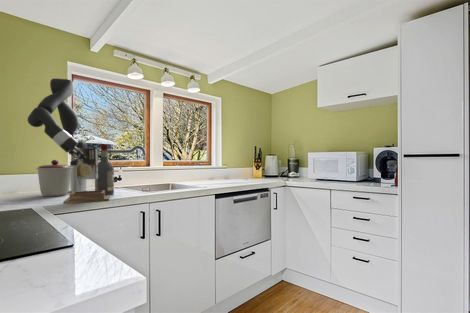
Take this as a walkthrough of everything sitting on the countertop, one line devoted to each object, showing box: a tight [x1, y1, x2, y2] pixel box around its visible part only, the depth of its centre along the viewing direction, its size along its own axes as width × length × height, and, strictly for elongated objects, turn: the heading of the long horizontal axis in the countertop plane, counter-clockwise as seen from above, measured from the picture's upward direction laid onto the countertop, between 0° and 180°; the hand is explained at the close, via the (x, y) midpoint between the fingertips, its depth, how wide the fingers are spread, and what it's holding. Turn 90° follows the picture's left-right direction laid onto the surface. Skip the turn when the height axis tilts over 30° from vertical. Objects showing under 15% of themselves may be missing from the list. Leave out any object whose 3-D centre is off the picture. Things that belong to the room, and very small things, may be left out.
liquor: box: [94, 143, 115, 196], centre depth 165 cm, size 9×9×30 cm
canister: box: [35, 159, 73, 197], centre depth 164 cm, size 18×18×21 cm
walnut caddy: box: [63, 190, 111, 204], centre depth 146 cm, size 16×20×4 cm
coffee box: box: [76, 147, 99, 180], centre depth 146 cm, size 9×6×16 cm
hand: (91, 163), depth 146 cm, fingers closed on coffee box, 7 cm apart
